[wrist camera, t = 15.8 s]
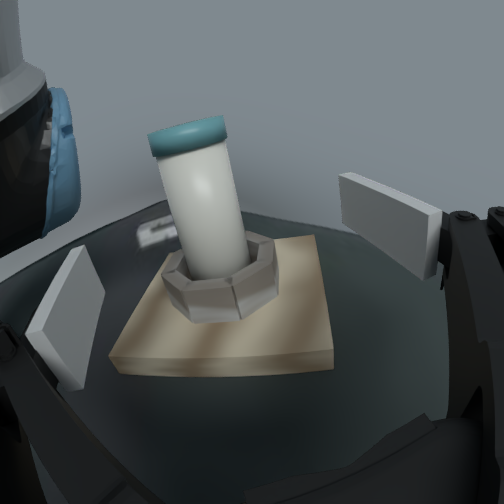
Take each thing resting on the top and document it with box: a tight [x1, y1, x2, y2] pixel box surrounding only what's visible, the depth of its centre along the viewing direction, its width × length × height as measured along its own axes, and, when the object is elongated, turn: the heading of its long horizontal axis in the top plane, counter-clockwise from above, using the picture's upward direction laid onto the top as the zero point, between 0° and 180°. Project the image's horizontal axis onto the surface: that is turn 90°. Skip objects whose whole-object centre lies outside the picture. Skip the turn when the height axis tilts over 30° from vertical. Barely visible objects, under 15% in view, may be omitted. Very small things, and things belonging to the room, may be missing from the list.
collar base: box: [108, 231, 334, 377], centre depth 26 cm, size 16×16×5 cm
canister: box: [147, 115, 252, 281], centre depth 23 cm, size 5×5×14 cm
